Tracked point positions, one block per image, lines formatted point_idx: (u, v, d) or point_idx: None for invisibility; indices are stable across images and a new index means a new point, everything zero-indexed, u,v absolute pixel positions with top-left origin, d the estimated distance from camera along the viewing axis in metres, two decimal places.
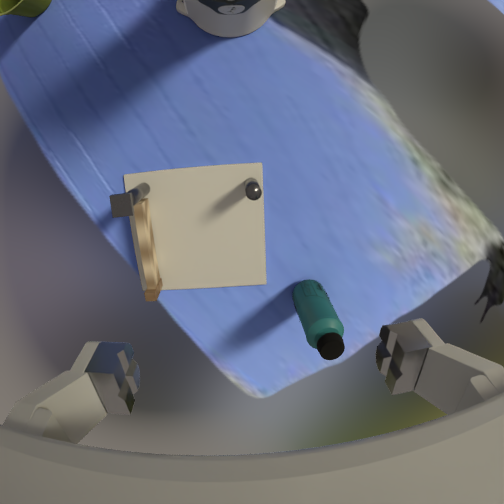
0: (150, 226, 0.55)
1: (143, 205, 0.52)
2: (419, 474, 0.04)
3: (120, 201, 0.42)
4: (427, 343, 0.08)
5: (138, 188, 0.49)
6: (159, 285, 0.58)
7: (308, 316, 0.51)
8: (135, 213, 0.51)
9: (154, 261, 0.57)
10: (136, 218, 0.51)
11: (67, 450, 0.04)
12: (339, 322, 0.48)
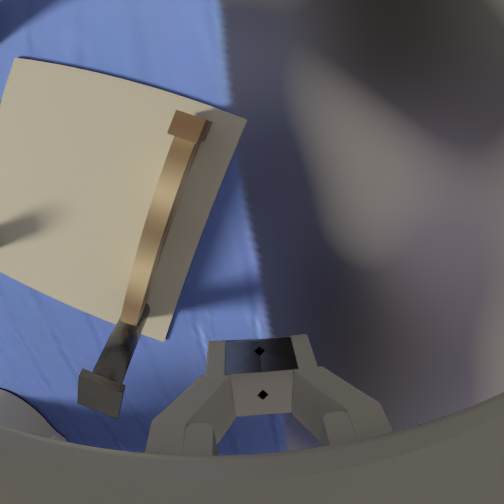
0: None
1: None
2: (419, 474, 0.04)
3: (98, 403, 0.19)
4: (297, 364, 0.08)
5: None
6: None
7: None
8: (137, 311, 0.25)
9: None
10: (138, 303, 0.24)
11: (67, 450, 0.04)
12: None
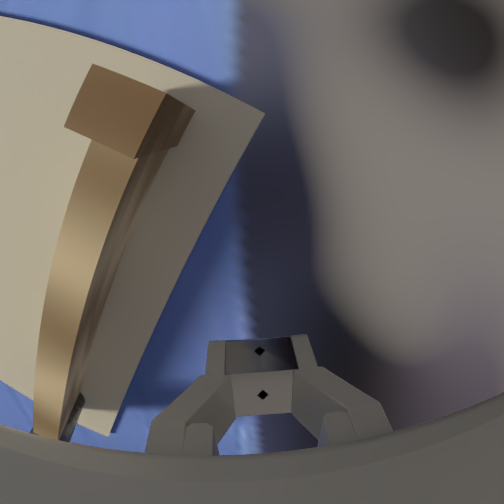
0: None
1: None
2: (419, 474, 0.04)
3: None
4: (297, 364, 0.08)
5: None
6: None
7: None
8: (54, 430, 0.12)
9: None
10: (54, 422, 0.12)
11: (67, 450, 0.04)
12: None
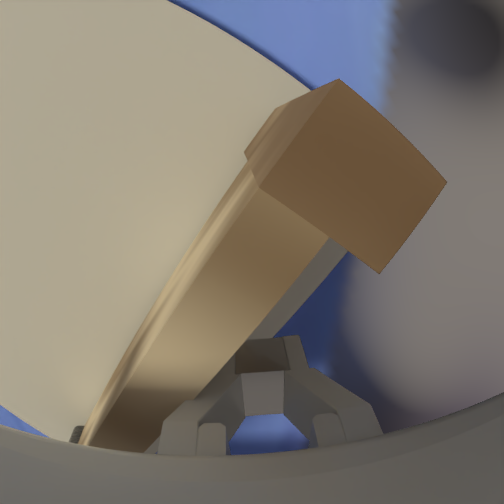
0: (104, 393, 0.11)
1: None
2: (419, 474, 0.04)
3: None
4: (288, 364, 0.08)
5: None
6: (257, 142, 0.07)
7: None
8: None
9: (164, 300, 0.08)
10: None
11: (67, 450, 0.04)
12: None
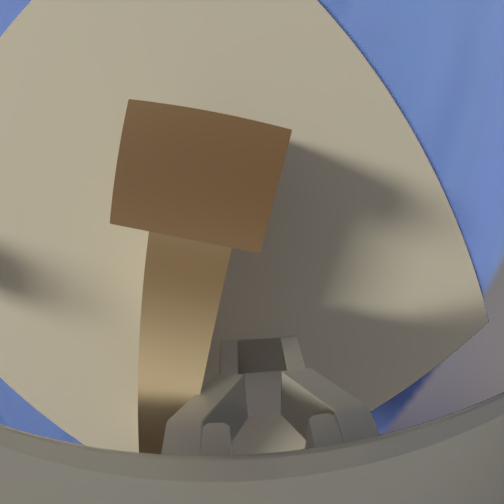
0: None
1: None
2: (419, 474, 0.04)
3: None
4: (285, 365, 0.08)
5: None
6: None
7: None
8: None
9: None
10: None
11: (67, 450, 0.04)
12: None
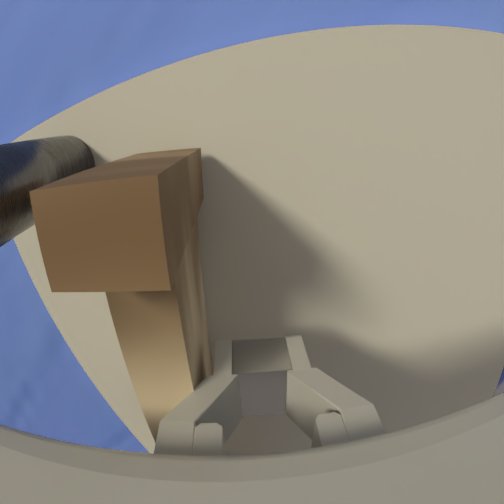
0: None
1: None
2: (419, 474, 0.04)
3: None
4: (291, 364, 0.08)
5: None
6: None
7: None
8: None
9: None
10: None
11: (67, 450, 0.04)
12: None
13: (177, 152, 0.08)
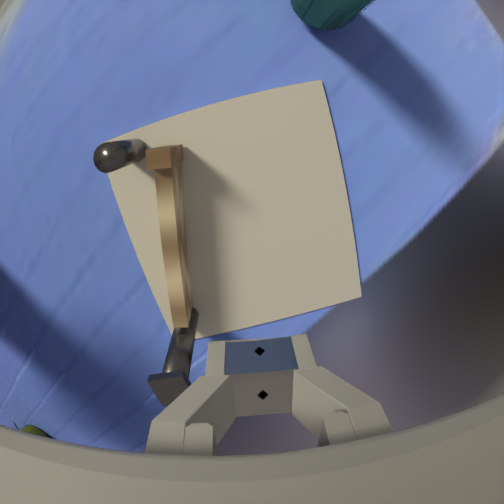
0: None
1: None
2: (419, 474, 0.04)
3: (165, 392, 0.25)
4: (297, 364, 0.08)
5: (171, 337, 0.31)
6: None
7: None
8: (184, 314, 0.31)
9: None
10: (182, 307, 0.30)
11: (67, 450, 0.04)
12: None
13: (174, 145, 0.28)
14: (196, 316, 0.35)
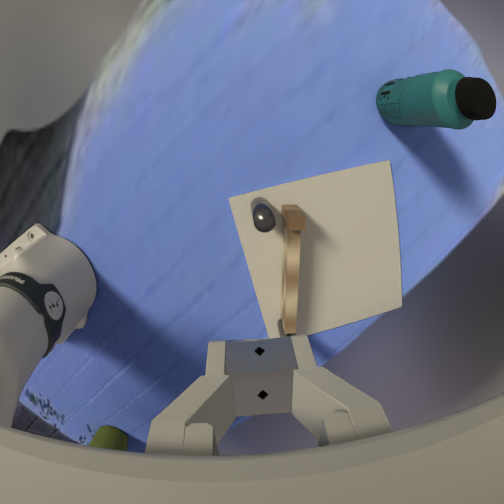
0: (282, 290, 0.46)
1: (283, 325, 0.45)
2: (419, 474, 0.04)
3: None
4: (297, 364, 0.08)
5: None
6: (284, 217, 0.40)
7: (431, 121, 0.27)
8: (294, 324, 0.44)
9: (285, 252, 0.42)
10: (294, 319, 0.43)
11: (67, 450, 0.04)
12: (437, 79, 0.23)
13: (295, 207, 0.41)
14: None
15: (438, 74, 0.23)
